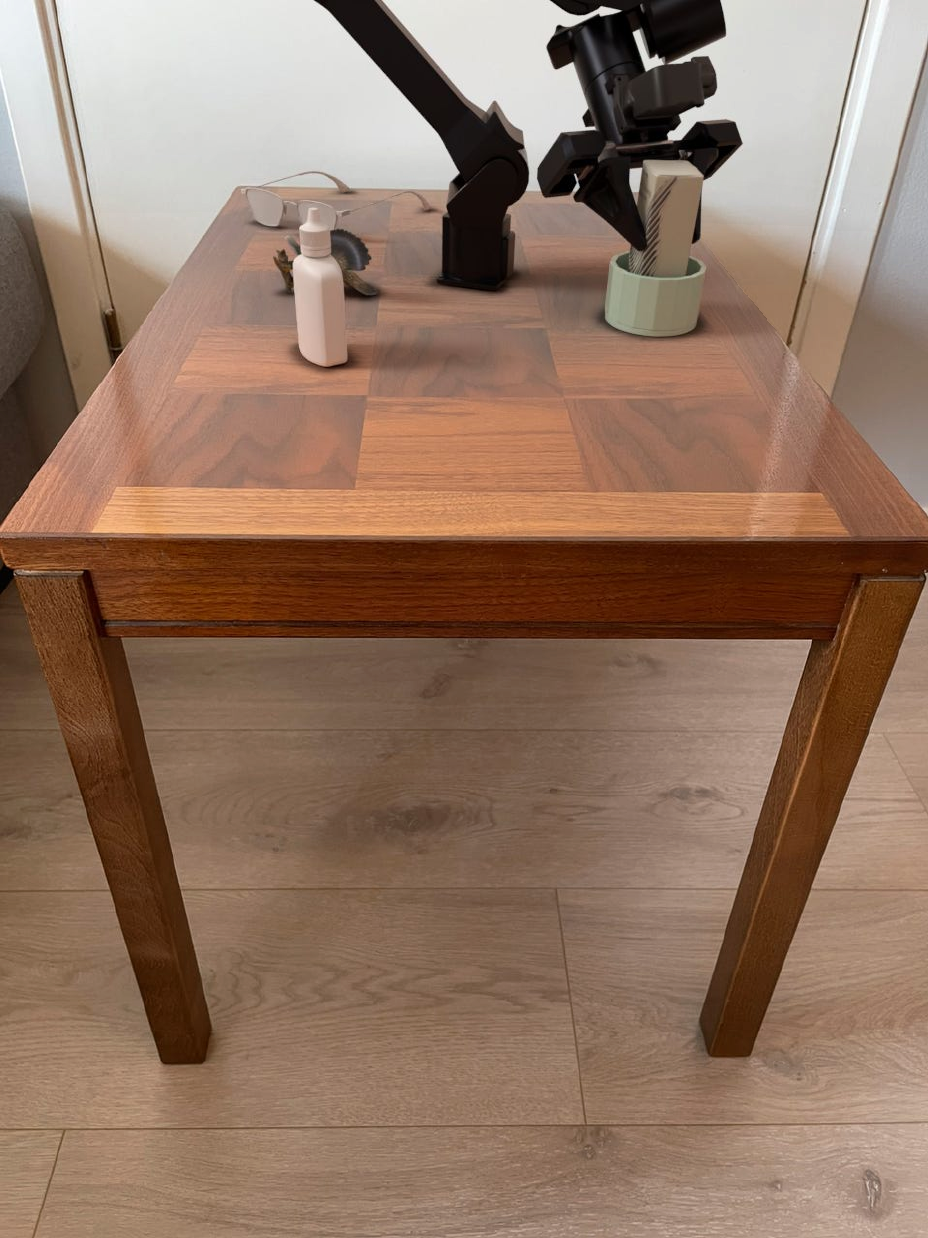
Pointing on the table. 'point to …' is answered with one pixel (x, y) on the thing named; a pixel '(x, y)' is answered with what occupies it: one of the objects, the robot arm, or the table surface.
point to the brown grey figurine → (343, 250)
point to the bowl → (653, 299)
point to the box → (666, 217)
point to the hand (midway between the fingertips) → (669, 244)
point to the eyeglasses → (301, 204)
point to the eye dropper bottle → (319, 296)
